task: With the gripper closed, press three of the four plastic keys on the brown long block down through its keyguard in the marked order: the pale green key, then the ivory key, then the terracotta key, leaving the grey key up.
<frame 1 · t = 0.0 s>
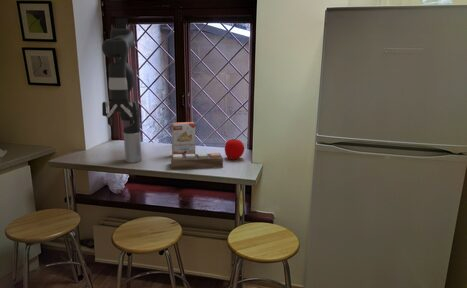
hand: (120, 125, 147), 29 cm above the table, tool pointing down, fingers open, 8 cm apart
sage key: (202, 157, 189), point 5 cm above the table, slide at 0.0 cm
ivory key: (177, 158, 187), point 5 cm above the table, slide at 0.0 cm
tomato: (234, 158, 204), on the table
grey key: (190, 157, 188), point 5 cm above the table, slide at 0.0 cm
cracker box: (183, 155, 210), on the table
brown long block: (196, 165, 190), on the table
terracotta key: (214, 156, 191), point 5 cm above the table, slide at 0.0 cm
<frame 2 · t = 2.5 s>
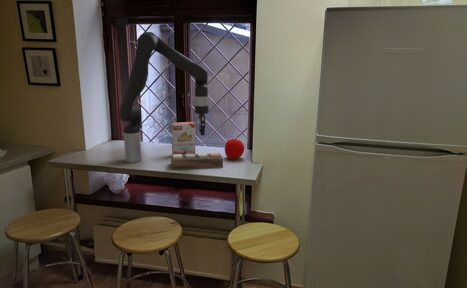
hand: (201, 133, 185), 18 cm above the table, tool pointing down, fingers open, 8 cm apart
nothing on the table moved.
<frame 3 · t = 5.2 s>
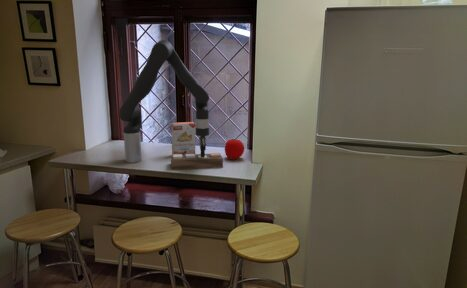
hand: (202, 156, 189), 5 cm above the table, tool pointing down, fingers closed
sage key: (202, 159, 190), point 4 cm above the table, slide at 1.2 cm, touching gripper
everything else where it was.
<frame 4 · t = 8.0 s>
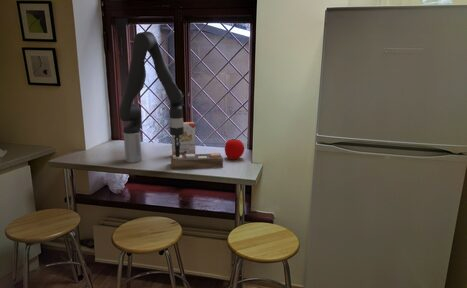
hand: (177, 156, 186), 6 cm above the table, tool pointing down, fingers closed
sage key: (202, 159, 190), point 3 cm above the table, slide at 1.5 cm
ivory key: (177, 158, 187), point 4 cm above the table, slide at 0.5 cm, touching gripper
everything else where it was.
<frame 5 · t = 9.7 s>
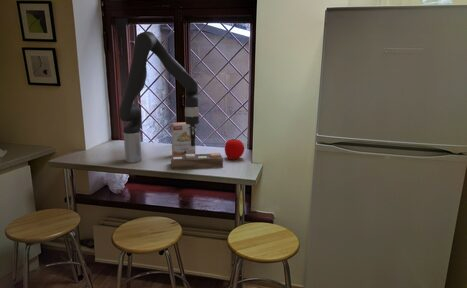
hand: (192, 145, 186), 12 cm above the table, tool pointing down, fingers closed
ivory key: (177, 160, 187), point 3 cm above the table, slide at 1.6 cm
everything else where it was.
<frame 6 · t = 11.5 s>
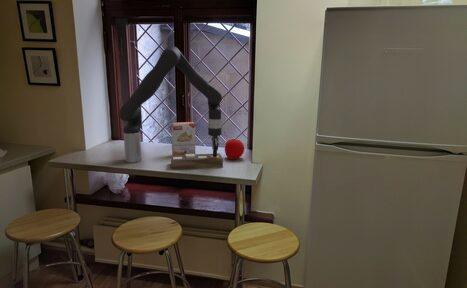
hand: (214, 156, 191), 5 cm above the table, tool pointing down, fingers closed
terracotta key: (214, 158, 191), point 3 cm above the table, slide at 1.4 cm, touching gripper
everything else where it was.
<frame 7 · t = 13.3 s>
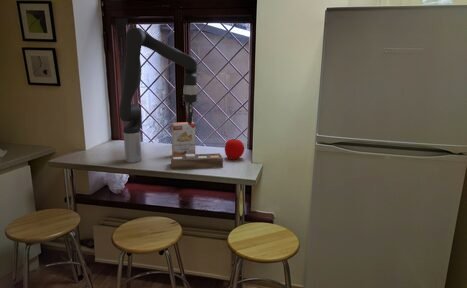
hand: (189, 123, 191), 23 cm above the table, tool pointing down, fingers closed
terracotta key: (214, 159, 191), point 3 cm above the table, slide at 1.5 cm
everything else where it was.
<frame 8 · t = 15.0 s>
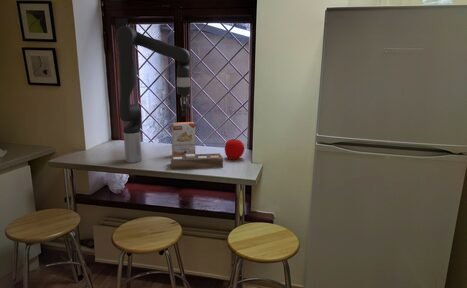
hand: (184, 116, 191), 27 cm above the table, tool pointing down, fingers closed
nothing on the table moved.
at the end: sage key slide at 1.5 cm; ivory key slide at 1.6 cm; terracotta key slide at 1.5 cm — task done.
